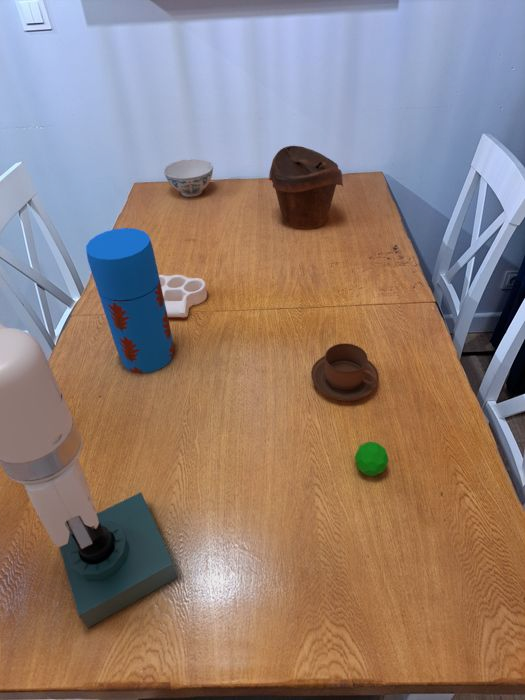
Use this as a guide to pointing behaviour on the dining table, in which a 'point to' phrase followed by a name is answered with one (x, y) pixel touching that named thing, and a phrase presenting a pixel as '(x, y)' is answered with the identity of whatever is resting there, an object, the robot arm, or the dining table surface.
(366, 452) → the polyhedron
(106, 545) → the knob
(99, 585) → the push-button housing
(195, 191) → the chinaware
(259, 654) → the dining table surface
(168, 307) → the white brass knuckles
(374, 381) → the cup and saucer
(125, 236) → the thermos
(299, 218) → the brown lidded bucket
